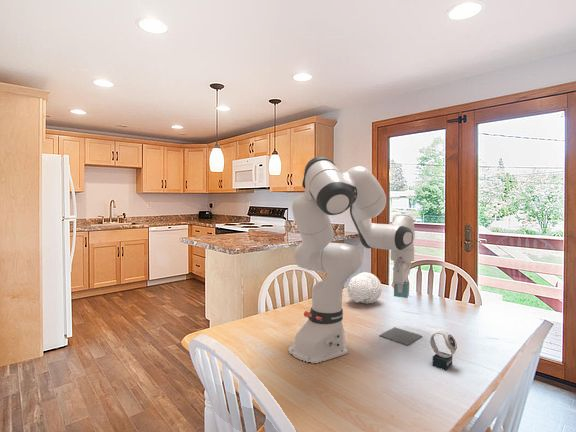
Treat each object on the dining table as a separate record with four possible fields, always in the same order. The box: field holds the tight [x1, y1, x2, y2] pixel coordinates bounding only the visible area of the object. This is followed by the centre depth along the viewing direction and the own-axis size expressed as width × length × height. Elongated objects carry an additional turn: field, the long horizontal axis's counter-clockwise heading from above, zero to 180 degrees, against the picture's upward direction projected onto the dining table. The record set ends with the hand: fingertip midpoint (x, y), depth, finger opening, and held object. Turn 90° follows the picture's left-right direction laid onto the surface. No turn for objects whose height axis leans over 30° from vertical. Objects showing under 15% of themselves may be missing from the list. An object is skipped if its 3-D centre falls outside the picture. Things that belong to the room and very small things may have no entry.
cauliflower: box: [346, 271, 383, 304], centre depth 174 cm, size 20×18×16 cm
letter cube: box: [393, 281, 410, 299], centre depth 133 cm, size 5×5×5 cm
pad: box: [378, 327, 423, 347], centre depth 134 cm, size 12×12×1 cm
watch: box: [429, 330, 458, 371], centre depth 111 cm, size 6×8×11 cm
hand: (401, 290), depth 133 cm, fingers closed on letter cube, 5 cm apart
